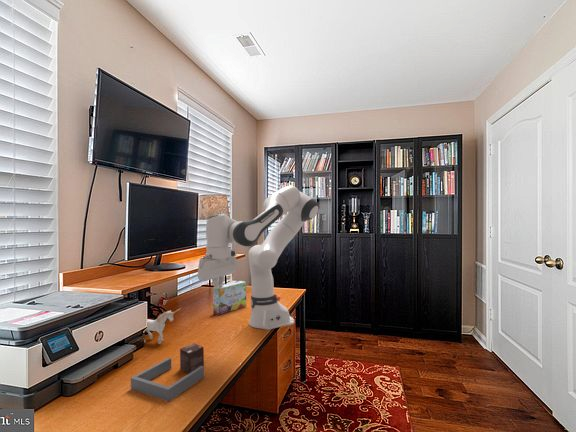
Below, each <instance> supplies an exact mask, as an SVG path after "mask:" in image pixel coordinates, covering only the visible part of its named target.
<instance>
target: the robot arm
mask: <svg viewBox="0 0 576 432" xmlns="http://www.w3.org/2000/svg"><path fill="white" fill-rule="evenodd" d="M319 208H320V204H319V203H318V202H317V201H316V200H315V199H314V198H312V197H311V196H310V195H308V194H306V193H304V192H303V191H300V190H299V189H298V188H297V187H296V186H294V185H287V186H284V187H282V188H280V189H278V190H276V191H275V192H273V193H271V194H270V195H269V196H268V197H267V198H265V200H264V201H263V210H264V211H263V212H261V213H260V214H258V215H257V216H256V217H255V218H253V219H250V220H244V221H237V220H236V219H233V218H231V217H229V216H228V215H227V214H226V213H216V214H212V215H210V216H208V218H207V219H206V225H205V237H206V246H205V247H206V255H203V256H201V258H200V259H199V260H198V268H197V279H198V281H201V282H207V281H210V280H212V283H213V287H215V289H218V288H222V287H223V285H224V284H223V283H224V280H225V276H228V275H233V274H235V273H236V272H237V267H238V266H237V257H236V256H237V251H236V250H234V249H231V248H229V244H233V245H240V246H243V247H251V248H249V250H248V254H247V257H248V263H249V264H248V265H249V273H250V281H251V284H250V285H251V295H250V308H251V311H250V312H251V313H250V317H249V324H248V325H249V326H250V327H252V328H256V329H263V330H265V331H266V330H273V329H277V328H280V327H281V328H282V327H286V326H290V325H294V324H295V319H294V318H293V317H292V316H291V315H290V312H289V310H288V308H287V307H286V306H285V305H283V304H282V303H280V302H279V301H280V300H281V297H280V296H279V295H277V294H275V291H274V289H275V288H274V286H275V285H274V283H275V282H274V276H273V273H272V268H274V267H275V266H276V265H277V263H278V259H279V257H280V256H281V254H282V253H283V251H284V250H285V248H286V247H287V245H288V244H289V243H290V242H291V240H293V239H294V237H296V235H297V233H298V232H299V231H300V230H301V228H302V227H303V225H304V224H305V222H307V221H311V219H314V218H315V217H316V216H317V214H318V213H319V210H320V209H319ZM280 218H281V219H280ZM279 219H280V220H279ZM277 221H278V222H277ZM276 222H277V223H276ZM274 223H276V224H275V225H274V226H273V228H272V229H271V230H269V232H268V233H267V236H266V238H265V239H264V241H263V242H262V243H261V244H256V243H257V242H258V241H259V239H260V238H261V235H262V234H263V233H265V231H266V230H267V229H268V228H270V227H271V226H272V225H273V224H274ZM254 244H256V245H254Z"/></svg>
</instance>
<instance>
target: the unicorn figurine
mask: <svg viewBox="0 0 576 432" xmlns="http://www.w3.org/2000/svg"><path fill="white" fill-rule="evenodd" d="M181 309H182V307H180V308H179V309H176V310H175V311H172V310H171V309H170V310H168V311H163V313H161V314H160V315H159V316H157V318H156V319H149V318H147V328H146V329H145V330H144V331H143V333H144V334H145V332H146V333H148V337H149V339H150V341H151V340H152V341H153V337H154V336H153V333H152V332H157V333H158V334H159V335H158V336H157V338H158V339H157V344H158V345H160V344H161V343H162V342H164V341H165V340H164V333H163V331H164V329H165V326H166V324H165V323H166V321H167V319H168V320H169V322H173V321H174V314H175V313H177V312H179V311H180V310H181ZM145 343H147V341H146V339H144V343H143V344H145Z"/></svg>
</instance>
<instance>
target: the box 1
mask: <svg viewBox="0 0 576 432" xmlns="http://www.w3.org/2000/svg"><path fill="white" fill-rule="evenodd" d="M170 369H172V358H171V357H167V358H165V359H163V360H162V361H160V362H158V363H155V365H152V366H150V367H148V368H147V369H145V370H143V371H141V372H139V373H137V374H135V375H134V376H132V377H130V389H131V390H132V391H137V392H139V393H141V394H145V395H147V396H150V397H154V398H157V399H160V400H162V401H165V402H169V403H170V402H171V401H172V400H173V399H175V398H177V396H179V395H180V394H182V393H183V392H185V391H186V390H188V389H189V388H191V387H192V386H194V385H195V384H196V383H198V382H199V381H201V380H202V379H204V378H205V365H204V366H200V367H199V368H197V369H196V370H194V371H192V372H191V373H188V374H186V375H185V376H183V377H181V378H180V379H179V380H177V381H175V382H173V383H172V384H171V385H169V386H167V385H164V384H162V383H157V382H154V381H152V380H153V379H155V378H156V377H158V376H160V375H161V374H164V373H165V372H167V371H169V370H170Z"/></svg>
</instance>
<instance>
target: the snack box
mask: <svg viewBox="0 0 576 432" xmlns="http://www.w3.org/2000/svg"><path fill="white" fill-rule="evenodd" d="M212 296H213V298H212V304H213V305H212V307H213V308H212V309H213V311H212V312H213V315H217V316H221V315H224V314H226V313H229V312H230V313H231V312H233V311H235V310H238V309H242V308H245V307H247V281H243V280H238V281H234V282H230V283H225V284H223V287H222V288H218V289H215V286H213V287H212Z"/></svg>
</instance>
